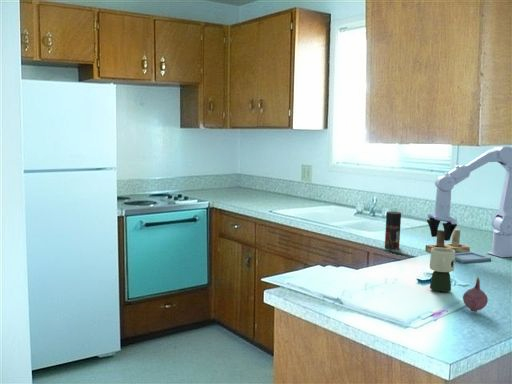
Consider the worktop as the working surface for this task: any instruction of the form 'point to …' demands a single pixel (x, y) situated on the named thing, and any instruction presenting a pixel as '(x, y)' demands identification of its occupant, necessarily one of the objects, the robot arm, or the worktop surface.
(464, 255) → the tray
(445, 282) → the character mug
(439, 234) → the walnut dowel
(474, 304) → the vegetable
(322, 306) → the worktop surface
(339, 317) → the worktop surface
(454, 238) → the birch dowel
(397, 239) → the deodorant
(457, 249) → the holder block
